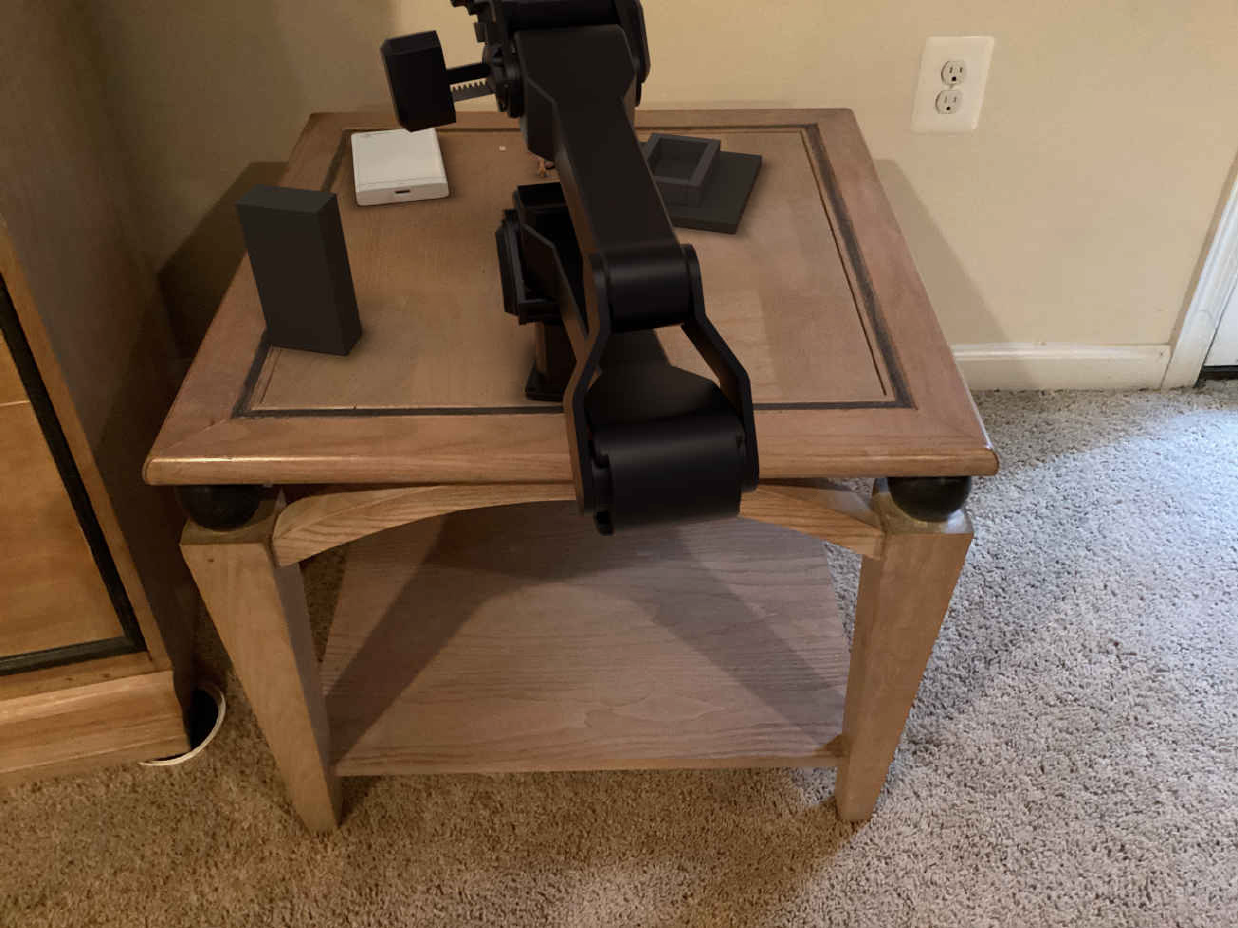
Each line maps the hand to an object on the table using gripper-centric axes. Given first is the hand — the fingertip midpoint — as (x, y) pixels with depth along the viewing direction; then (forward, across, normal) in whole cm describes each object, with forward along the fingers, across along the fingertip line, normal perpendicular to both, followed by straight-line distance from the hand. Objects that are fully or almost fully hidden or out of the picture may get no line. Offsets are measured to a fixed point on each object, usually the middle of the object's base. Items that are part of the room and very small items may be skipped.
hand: (496, 54), depth 83 cm
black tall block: (-8, +19, +16) cm, 26 cm away
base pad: (+6, -15, +15) cm, 22 cm away
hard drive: (+17, +8, +10) cm, 21 cm away
